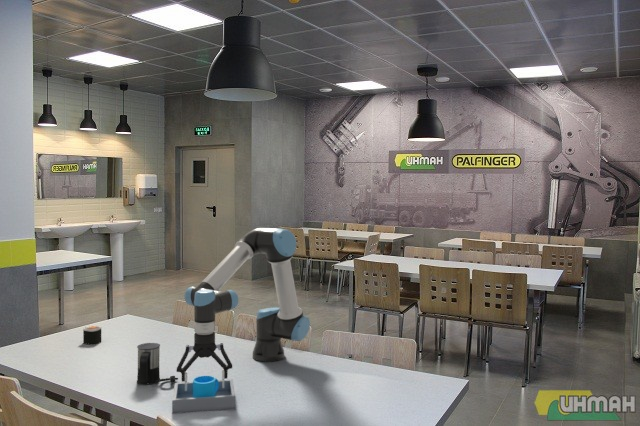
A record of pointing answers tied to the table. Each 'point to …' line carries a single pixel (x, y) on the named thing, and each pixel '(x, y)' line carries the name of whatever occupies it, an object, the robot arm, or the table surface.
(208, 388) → the mug
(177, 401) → the box
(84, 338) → the sushi
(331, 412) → the table surface
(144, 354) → the milk frother
